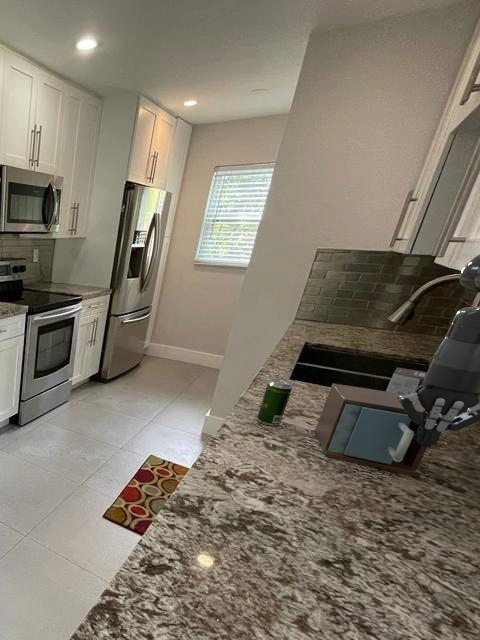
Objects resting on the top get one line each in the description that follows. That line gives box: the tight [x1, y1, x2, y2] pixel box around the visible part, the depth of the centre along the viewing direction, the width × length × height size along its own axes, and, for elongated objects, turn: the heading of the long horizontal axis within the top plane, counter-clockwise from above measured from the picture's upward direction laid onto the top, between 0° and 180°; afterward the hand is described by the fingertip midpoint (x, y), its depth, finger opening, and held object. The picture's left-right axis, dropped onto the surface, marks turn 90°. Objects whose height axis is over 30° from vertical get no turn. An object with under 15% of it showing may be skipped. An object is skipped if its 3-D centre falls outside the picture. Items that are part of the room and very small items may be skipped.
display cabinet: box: [313, 383, 428, 478], centre depth 95 cm, size 16×14×14 cm
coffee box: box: [385, 367, 428, 395], centre depth 108 cm, size 9×6×16 cm
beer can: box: [257, 378, 293, 427], centre depth 111 cm, size 5×5×12 cm
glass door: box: [344, 407, 414, 464], centre depth 88 cm, size 8×6×12 cm
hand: (423, 444), depth 83 cm, fingers closed
